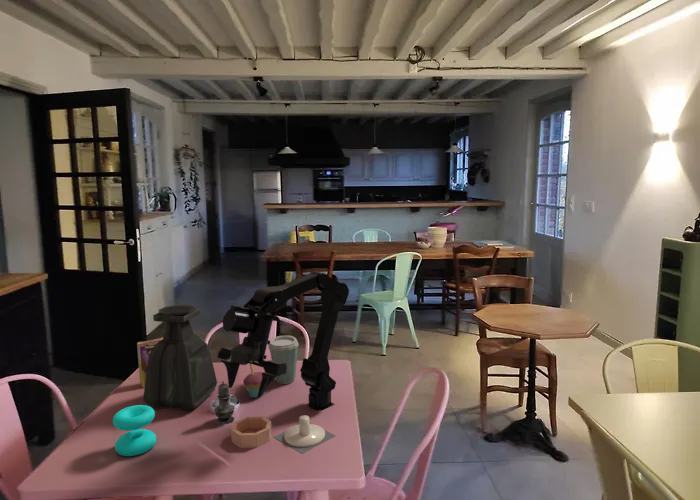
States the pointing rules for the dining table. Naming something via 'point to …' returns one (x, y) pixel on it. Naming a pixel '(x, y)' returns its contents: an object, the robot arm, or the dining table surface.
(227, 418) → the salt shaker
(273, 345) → the disposable coffee cup
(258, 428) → the bowl
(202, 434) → the dining table surface
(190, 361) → the bottle
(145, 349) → the candy box
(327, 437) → the mat
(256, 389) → the cupcake
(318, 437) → the lid
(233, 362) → the robot arm
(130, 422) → the donuts
